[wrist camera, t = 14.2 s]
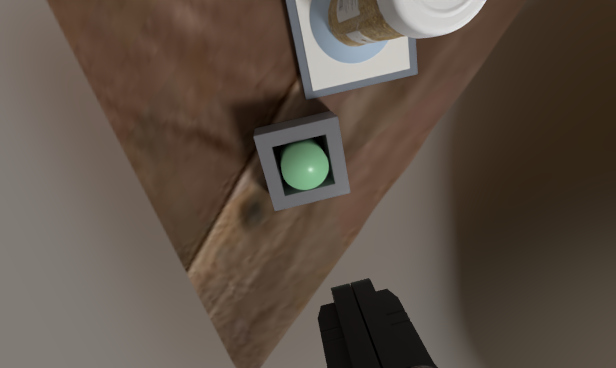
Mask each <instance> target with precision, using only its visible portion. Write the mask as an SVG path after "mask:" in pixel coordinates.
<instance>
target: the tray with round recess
mask: <svg viewBox="0 0 616 368" xmlns="http://www.w3.org/2000/svg"><path fill="white" fill-rule="evenodd" d="M285 1H286V6H287V11H288V16H289V21H290V26H291V30H292V35H293V40H294V45H295V50H296V55H297V60H298V65H299V69H300V74H301V79H302V84H303V89H304V94H305V99H306V100H308V99H312V98H317V97H321V96H325V95H330V94H334V93H338V92H342V91H347V90H351V89H355V88H360V87H364V86H368V85H372V84H377V83H381V82H385V81H390V80H394V79H398V78H402V77H407V76H411V75H415V74H418V72H417V55H416V38H411V37H407V36H404V37H400V38H396V39H392V40H386V41H381V42H375V43H370V44H365V45H362V46H347V45H345V44H343V43H342V42H340V41H338V40H337V39H336V38H335V37H334V35H333V34H332V32H331V29H330V26H329V23H328V9H329V4H330V1H331V0H285Z"/></svg>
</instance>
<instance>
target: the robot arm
mask: <svg viewBox="0 0 616 368" xmlns="http://www.w3.org/2000/svg"><path fill="white" fill-rule="evenodd" d="M331 291H332V295H333V300H334V303H330V304H326V305H323V306H321V308H320V312H319V316H318V322H319V327H320V332H321V338H322V342H323V348H324V353H325V358H326V363H327V368H438V367H437V366H436V365H435V364H434V362H433V361H432V359H431V357H430V355H429V354H428V352H427V350H426V348H425V346H424V345H423V343H422V341H421V339H420V337H419V335H418V333H417V332H416V330H415V328H414V326H413V324H412V322H411V321H410V319H409V317H408V315H407V313H406V312H405V310H404V308H403V306H402V304H401V302H400V300H399V299H398V297H397V296H395V295H394V294H393V293H392V292H390V291H389V290H388V289H384V290H380V291H375V289H374V287H373V285H372V282H371V280H370V279H369V278H368V279H364V280H360V281H356V282H352V283H351V286H350V284H345V285H341V286H337V287H333V288H331Z"/></svg>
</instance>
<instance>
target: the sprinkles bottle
mask: <svg viewBox="0 0 616 368" xmlns="http://www.w3.org/2000/svg"><path fill="white" fill-rule="evenodd" d="M485 2H486V0H331V1H330V4H329V9H328V23H329V26H330V29H331V32H332V34H333V35H334V37H335V38H336V39H337V40H338V41H340V42H342V43H343V44H345V45H347V46H362V45H365V44H370V43H375V42H381V41H386V40H392V39H396V38H400V37H404V36H407V37H411V38H428V37H435V36H440V35H444V34H447V33H451V32H453V31H455V30H457V29H459V28H461V27H462V26H464V25H465V24H466V23H468V22H469V21H470V20H471V19H472V18H473V17H474V16H475V15H476V14H477V13H478V12H479V10H480V9H481V8H482V6H483V5H484V3H485Z"/></svg>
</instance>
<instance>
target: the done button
mask: <svg viewBox="0 0 616 368" xmlns="http://www.w3.org/2000/svg"><path fill="white" fill-rule="evenodd" d="M280 162H281V170H282V175H283V177H284V179H285V181H286V182H287V183H288V184H289V185H290V186H292V187H294V188H296V189H300V190H308V189H312V188H315V187H317V186H318V185H320V184H321V183H322V182H323V181H324V180H325V178H326V176H327V174H328V170H329V163H328V159H327V157H326V155H325V154H324V152H323V150H322V149H321V147H320V145H319V144H318V143H317V142H316V141H315V140H314V139H312V138H308V139H304V140H300V141H295V142H291V143H287V144H285V145H284V146H283V148H282V150H281V153H280Z"/></svg>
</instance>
